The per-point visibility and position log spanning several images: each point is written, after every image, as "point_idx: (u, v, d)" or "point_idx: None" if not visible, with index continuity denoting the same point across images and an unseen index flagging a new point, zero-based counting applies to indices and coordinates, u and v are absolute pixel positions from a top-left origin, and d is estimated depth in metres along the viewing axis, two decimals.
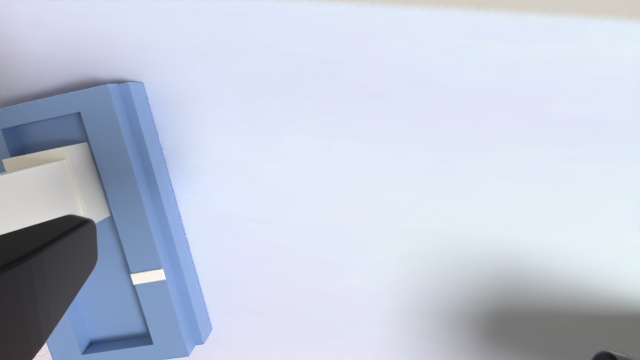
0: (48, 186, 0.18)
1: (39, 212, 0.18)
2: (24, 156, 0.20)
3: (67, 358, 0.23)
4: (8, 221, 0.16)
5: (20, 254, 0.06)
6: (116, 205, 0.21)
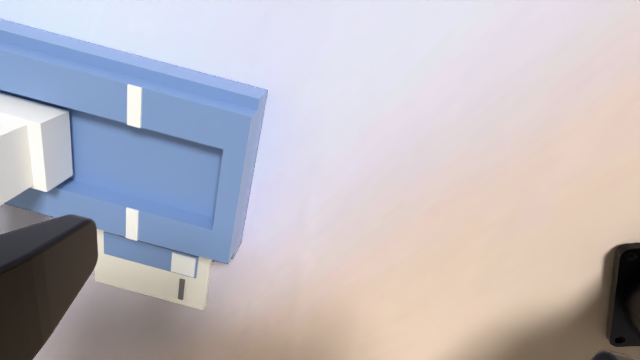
0: None
1: None
2: None
3: (212, 245, 0.20)
4: None
5: (20, 254, 0.06)
6: (44, 93, 0.18)
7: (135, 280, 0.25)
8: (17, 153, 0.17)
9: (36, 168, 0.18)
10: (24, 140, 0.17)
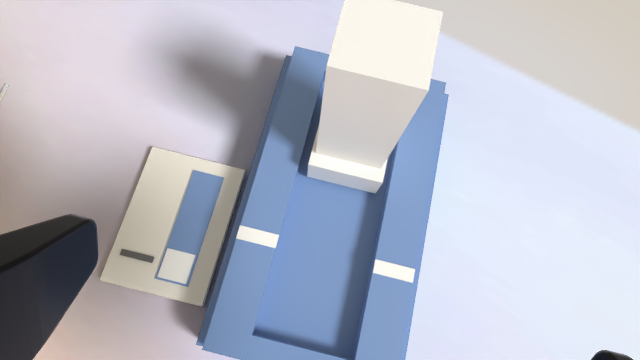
0: None
1: None
2: None
3: (230, 332, 0.17)
4: None
5: (20, 254, 0.06)
6: (397, 182, 0.19)
7: (151, 197, 0.21)
8: (359, 158, 0.18)
9: (334, 162, 0.18)
10: (367, 163, 0.18)
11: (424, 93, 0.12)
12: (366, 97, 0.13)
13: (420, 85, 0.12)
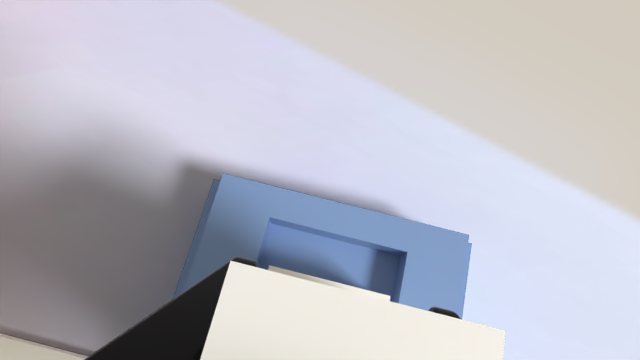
0: None
1: None
2: (311, 278, 0.11)
3: None
4: None
5: None
6: None
7: None
8: None
9: None
10: None
11: None
12: None
13: None
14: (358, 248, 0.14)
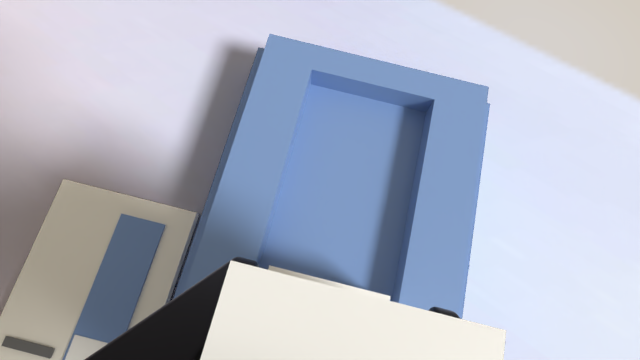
0: None
1: None
2: (311, 278, 0.11)
3: None
4: None
5: None
6: (421, 239, 0.13)
7: (57, 254, 0.14)
8: None
9: None
10: None
11: None
12: None
13: None
14: (389, 105, 0.15)
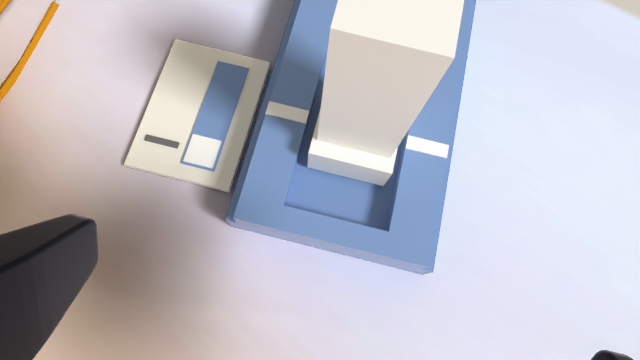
0: None
1: None
2: None
3: (261, 202, 0.17)
4: None
5: (20, 254, 0.06)
6: None
7: (175, 86, 0.20)
8: (366, 145, 0.16)
9: (338, 150, 0.16)
10: (375, 152, 0.16)
11: (448, 62, 0.10)
12: (377, 69, 0.11)
13: (444, 52, 0.10)
14: None
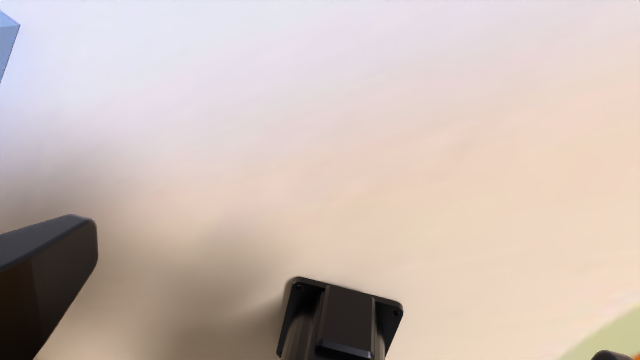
0: None
1: None
2: None
3: None
4: None
5: (20, 254, 0.06)
6: None
7: None
8: None
9: None
10: None
11: None
12: None
13: None
14: None
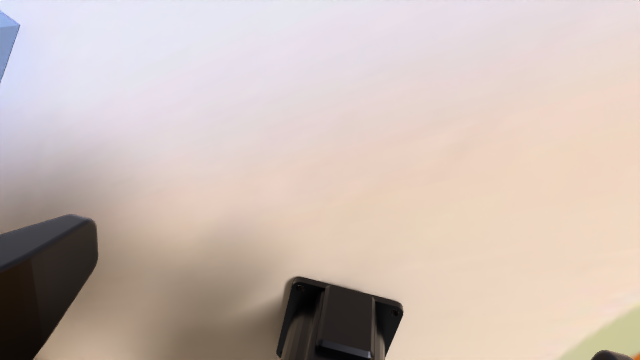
0: None
1: None
2: None
3: None
4: None
5: (20, 254, 0.06)
6: None
7: None
8: None
9: None
10: None
11: None
12: None
13: None
14: None
